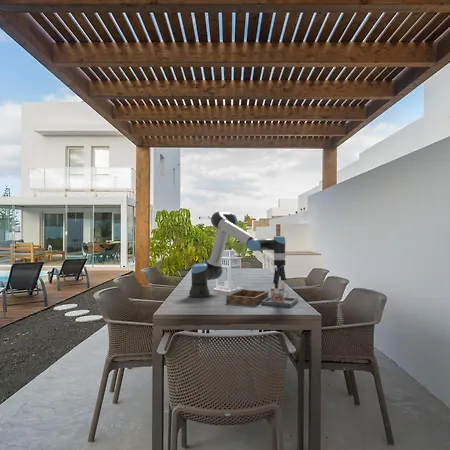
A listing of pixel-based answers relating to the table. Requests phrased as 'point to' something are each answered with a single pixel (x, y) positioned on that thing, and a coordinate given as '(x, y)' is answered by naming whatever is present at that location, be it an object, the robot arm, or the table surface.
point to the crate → (247, 297)
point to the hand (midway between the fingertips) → (279, 291)
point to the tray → (287, 303)
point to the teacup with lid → (278, 295)
